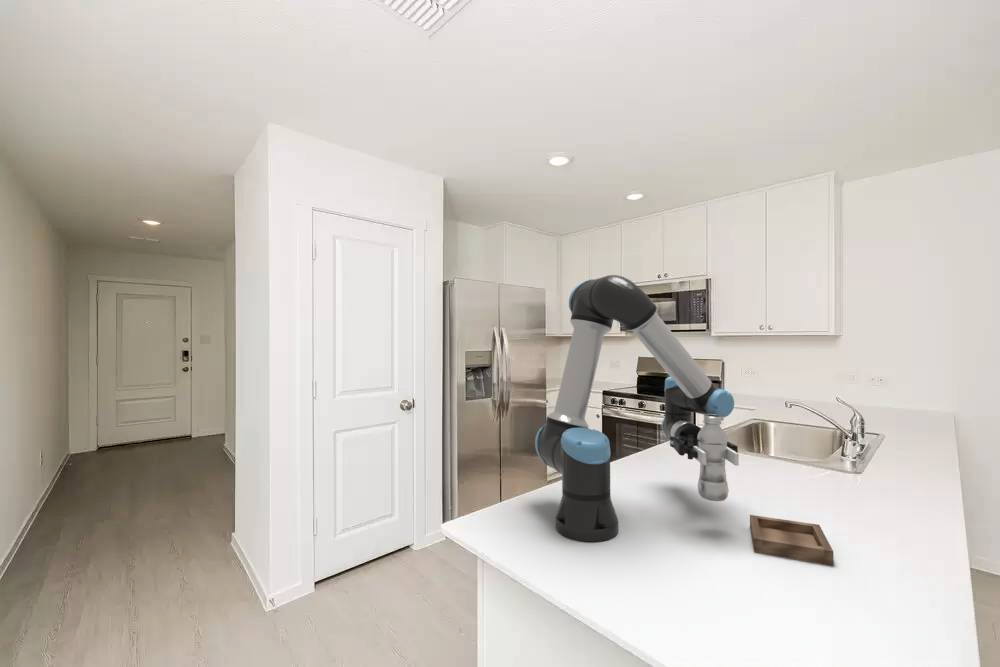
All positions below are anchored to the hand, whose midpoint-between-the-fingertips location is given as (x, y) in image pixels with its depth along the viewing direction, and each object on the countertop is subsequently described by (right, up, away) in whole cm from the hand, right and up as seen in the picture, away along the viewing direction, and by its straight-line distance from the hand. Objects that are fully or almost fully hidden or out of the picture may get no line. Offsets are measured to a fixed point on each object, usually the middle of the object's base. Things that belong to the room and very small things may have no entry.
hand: (720, 459), depth 101 cm
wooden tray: (+14, -19, -2) cm, 24 cm away
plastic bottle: (+1, -11, +5) cm, 12 cm away
